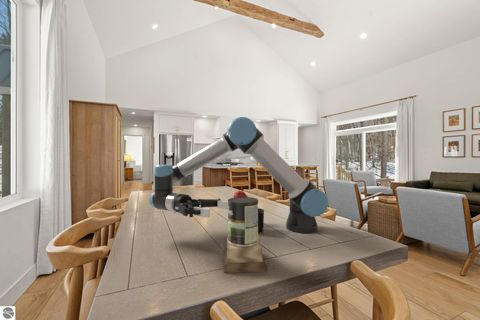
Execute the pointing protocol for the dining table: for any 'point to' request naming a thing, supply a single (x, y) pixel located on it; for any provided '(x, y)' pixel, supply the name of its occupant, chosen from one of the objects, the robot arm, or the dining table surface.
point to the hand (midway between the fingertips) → (221, 209)
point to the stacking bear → (240, 194)
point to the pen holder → (260, 220)
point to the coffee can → (243, 221)
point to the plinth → (243, 265)
